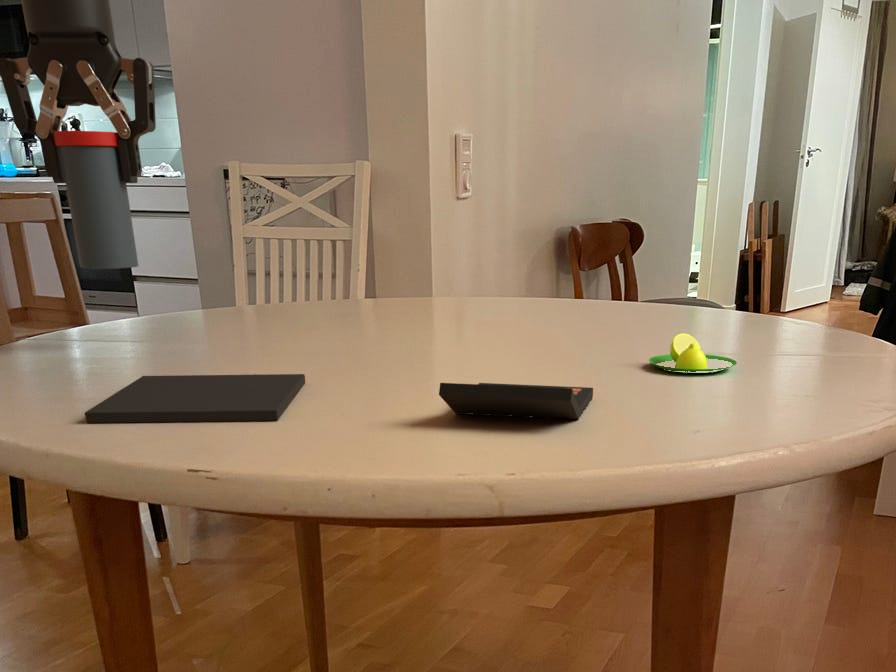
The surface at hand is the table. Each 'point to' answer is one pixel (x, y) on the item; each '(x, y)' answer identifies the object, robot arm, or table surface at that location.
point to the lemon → (687, 356)
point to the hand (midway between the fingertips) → (95, 182)
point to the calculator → (516, 399)
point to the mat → (200, 399)
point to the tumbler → (97, 199)
